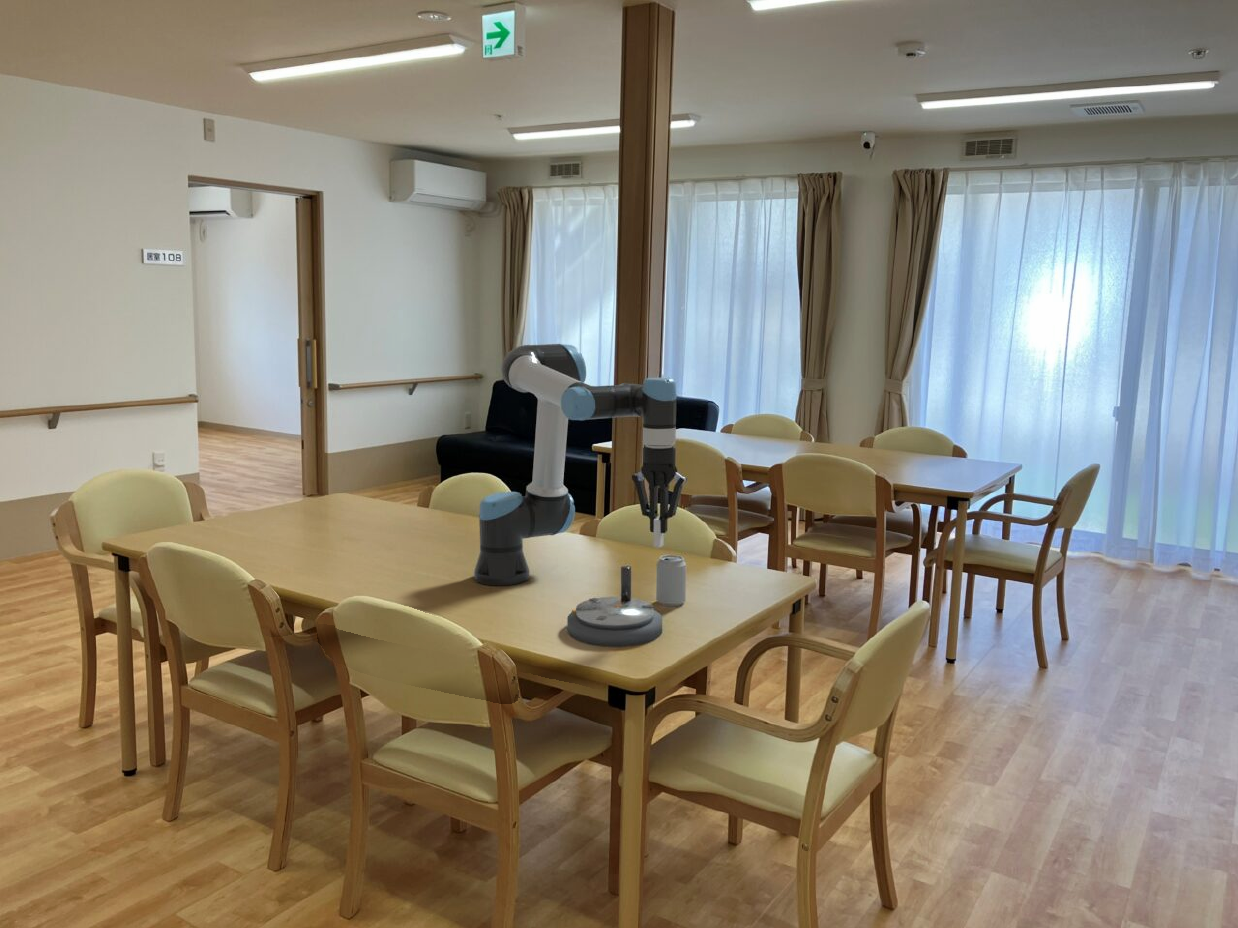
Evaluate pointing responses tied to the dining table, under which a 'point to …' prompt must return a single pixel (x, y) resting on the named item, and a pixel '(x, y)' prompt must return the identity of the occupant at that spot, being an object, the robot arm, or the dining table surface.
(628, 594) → the peg stand
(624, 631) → the base
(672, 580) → the can
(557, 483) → the robot arm
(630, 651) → the dining table surface
